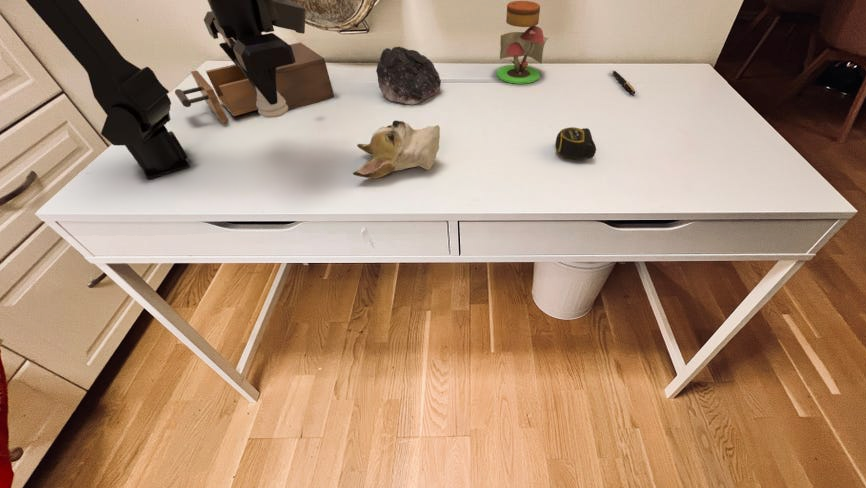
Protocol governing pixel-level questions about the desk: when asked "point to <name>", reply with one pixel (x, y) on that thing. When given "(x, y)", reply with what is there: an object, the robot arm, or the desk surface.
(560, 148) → the tape measure
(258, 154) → the desk surface
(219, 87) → the drawer
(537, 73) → the mushroom figurine
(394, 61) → the crystal cluster
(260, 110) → the rook chess piece
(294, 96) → the cabinet
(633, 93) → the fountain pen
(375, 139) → the ceramic sculpture
